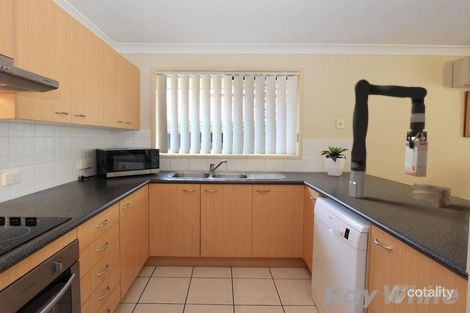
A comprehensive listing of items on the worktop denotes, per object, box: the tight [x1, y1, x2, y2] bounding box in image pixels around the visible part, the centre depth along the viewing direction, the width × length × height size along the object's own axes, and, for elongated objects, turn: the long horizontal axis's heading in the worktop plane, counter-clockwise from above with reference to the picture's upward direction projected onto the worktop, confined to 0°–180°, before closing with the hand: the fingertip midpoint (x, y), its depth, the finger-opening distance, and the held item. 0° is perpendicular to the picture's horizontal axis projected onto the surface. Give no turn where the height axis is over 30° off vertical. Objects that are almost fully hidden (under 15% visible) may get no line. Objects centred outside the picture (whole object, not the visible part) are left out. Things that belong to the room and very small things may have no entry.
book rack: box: [412, 182, 452, 208], centre depth 164 cm, size 10×21×10 cm, turn 20°
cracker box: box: [404, 140, 429, 178], centre depth 166 cm, size 14×6×21 cm, turn 173°
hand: (416, 148), depth 166 cm, fingers closed on cracker box, 8 cm apart
